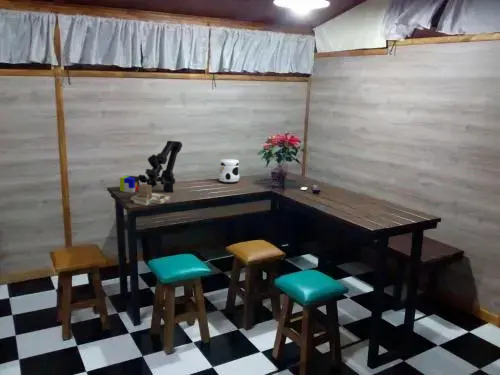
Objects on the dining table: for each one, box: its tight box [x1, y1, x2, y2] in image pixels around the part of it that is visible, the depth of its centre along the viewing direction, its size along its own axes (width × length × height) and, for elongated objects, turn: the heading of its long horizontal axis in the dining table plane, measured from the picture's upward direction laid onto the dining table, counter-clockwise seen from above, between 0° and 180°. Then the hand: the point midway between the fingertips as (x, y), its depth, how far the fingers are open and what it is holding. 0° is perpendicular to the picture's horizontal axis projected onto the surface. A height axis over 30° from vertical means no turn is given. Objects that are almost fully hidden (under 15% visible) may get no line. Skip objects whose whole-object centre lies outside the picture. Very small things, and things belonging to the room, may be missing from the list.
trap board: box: [130, 192, 171, 206], centre depth 293 cm, size 24×22×4 cm
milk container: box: [218, 158, 241, 184], centre depth 358 cm, size 17×17×18 cm
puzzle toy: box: [119, 175, 140, 194], centre depth 316 cm, size 10×10×10 cm
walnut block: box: [138, 183, 153, 200], centre depth 287 cm, size 6×6×9 cm
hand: (147, 190), depth 290 cm, fingers closed, pressing on walnut block
